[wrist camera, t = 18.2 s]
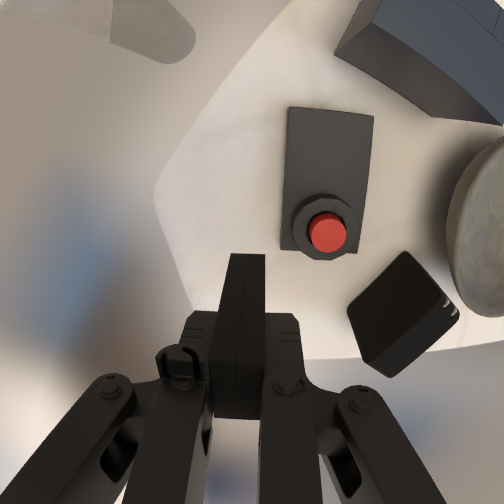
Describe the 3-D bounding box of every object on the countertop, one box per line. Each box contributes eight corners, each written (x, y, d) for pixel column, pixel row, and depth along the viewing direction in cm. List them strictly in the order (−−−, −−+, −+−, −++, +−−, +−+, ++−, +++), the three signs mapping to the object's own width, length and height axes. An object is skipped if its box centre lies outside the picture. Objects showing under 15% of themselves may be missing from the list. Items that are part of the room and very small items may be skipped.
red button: (310, 211, 29) (313, 217, 27) (344, 213, 29) (348, 220, 27) (307, 244, 30) (309, 251, 28) (339, 245, 30) (343, 253, 28)
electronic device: (344, 308, 36) (364, 366, 27) (404, 248, 33) (444, 294, 24) (366, 324, 37) (388, 381, 28) (424, 268, 34) (463, 316, 25)
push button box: (287, 107, 28) (290, 105, 25) (368, 115, 28) (380, 116, 24) (279, 244, 34) (281, 258, 30) (353, 248, 33) (361, 262, 30)
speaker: (431, 117, 27) (509, 127, 15) (332, 54, 25) (374, 19, 14) (460, 50, 23) (537, 38, 11) (368, -13, 22) (417, -66, 10)
